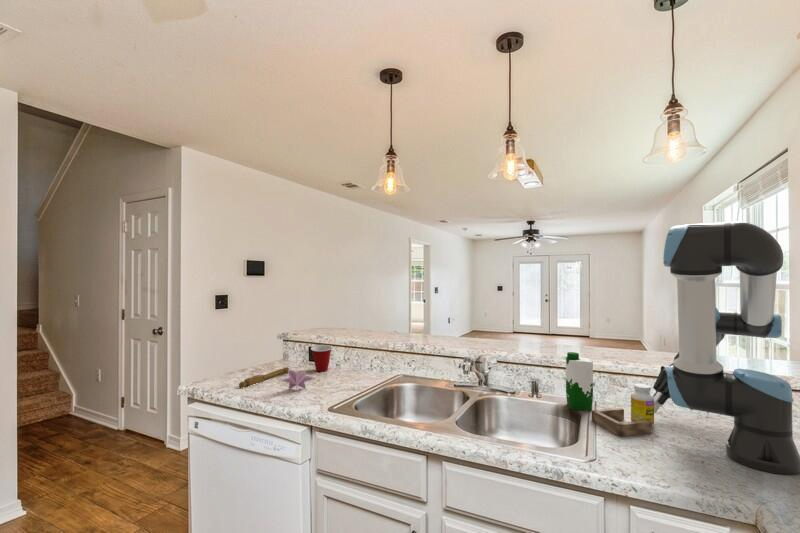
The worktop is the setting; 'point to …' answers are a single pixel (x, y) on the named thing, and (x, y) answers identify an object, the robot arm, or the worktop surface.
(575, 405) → the milk carton
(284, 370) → the tap handle
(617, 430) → the walnut dock
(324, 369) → the plastic cup
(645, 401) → the supplement bottle
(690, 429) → the worktop surface
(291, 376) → the lily
